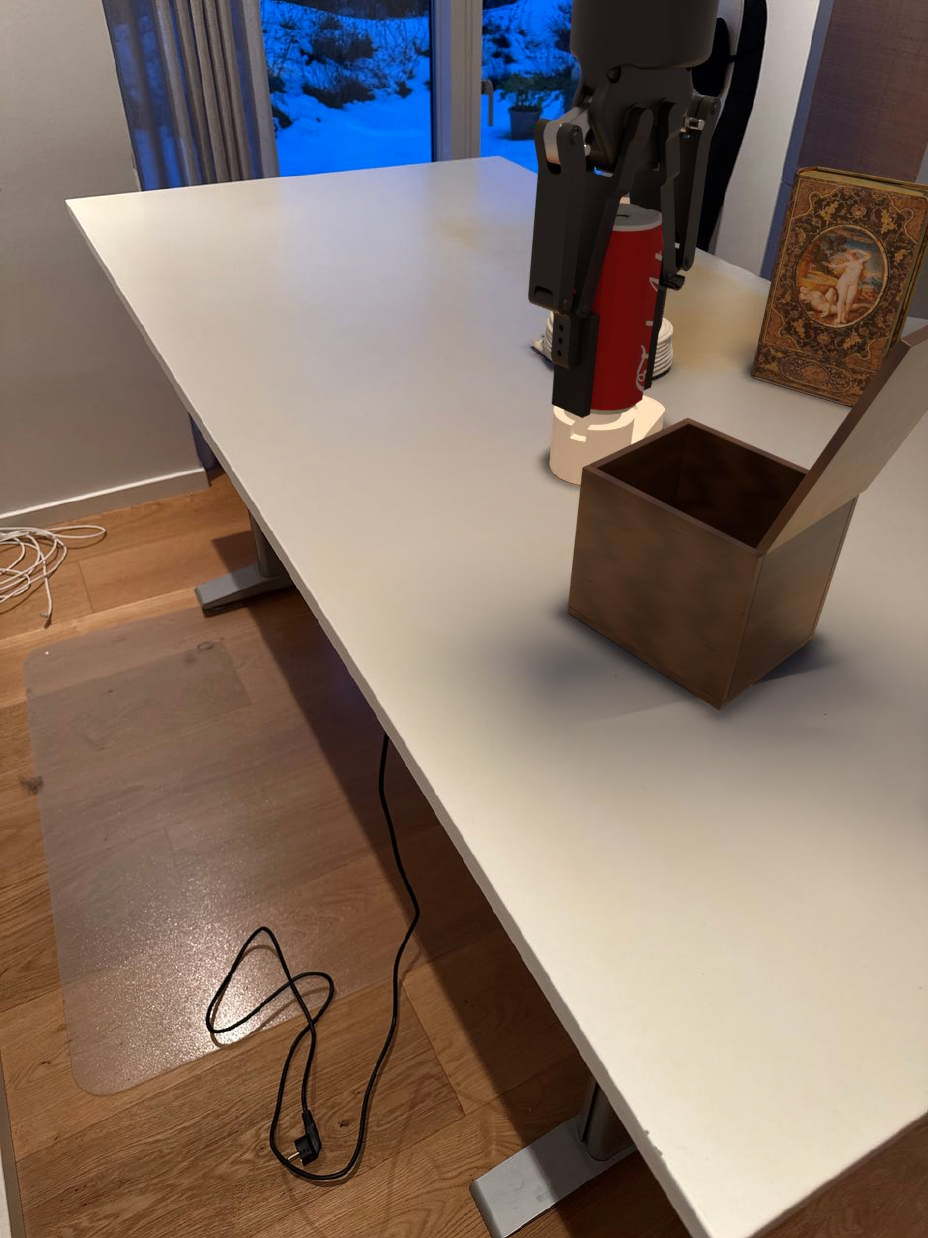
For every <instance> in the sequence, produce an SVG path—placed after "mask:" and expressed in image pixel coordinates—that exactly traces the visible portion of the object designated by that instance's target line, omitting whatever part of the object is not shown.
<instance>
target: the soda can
mask: <svg viewBox="0 0 928 1238" xmlns="http://www.w3.org/2000/svg"><path fill="white" fill-rule="evenodd" d="M661 224H662V214H661V213H660V212H659V211H656V210H652V209H648V210H647V209H644V208H641V207H639V206H637V205H633V204H625V203H620V204H619V208H618V211H617V215H616V219H615V223H614V226H613V230H612V234H611V237H610V241H609V245H608V248H607V252H606V256H605V260H604V263H603V267H602V271H601V274H600V278H599V282H598V286H597V289H596V293H595V297H594V300H593V304H592V308H591V312H594V313H596V314H599V315H600V323H599V333H598V343H597V352H596V362H595V372H594V382H593V392H592V401H591V411H590V413H591V414H598V415H613V414H620V413H624V412H627V411H628V410H630V409H631V408H633V407H634V406H636V404H637V403H638V402H640V401H641V400H642V398H643V395H644V391H645V390H644V384H645V377H646V370H647V362H648V355H649V348H650V341H651V334H652V326H653V319H654V312H655V305H656V298H657V290H658V283H659V276H660V269H661V262H662V254H663V235H662V225H661ZM573 293H576V290H575V289H574V292H573Z"/></svg>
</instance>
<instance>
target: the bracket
mask: <svg viewBox="0 0 928 1238" xmlns="http://www.w3.org/2000/svg"><path fill="white" fill-rule="evenodd" d="M552 413H553V414H552V425H551V437H550V452H549V469H550V471H551V472H552V473H553V475H554V476H556V477H557V478H559V479H561V480H563V481H565V482H568V483H569V484H574V485H578V486H580V485H581V476H582V468H583V467H584V466H587V465H589V464H591V463H593V462H595V461H597V460H599V459H602V458H604V457H606V456H608V455H610V454H612V453H614V452H616V451H618V450H620V449H623V448H625V447H627V446H629V445H631V444H633V443H635V442H637V441H639V440H642V439H644V438H646V437H648V436H650V435H652V434H654V433H656V432H658V431H661V430H663V425H664V420H665V413H666V408H665V406H664V405H663V404H661V402H659V401H657V400H656V399H654V398H651V397H649V396H646V395H644V394H643V398H642V400H641V401H640V402H638V403H637V404H636V406H634V407H633V408H631V409H630V410H628V411H627V412H624V413H620V414H613V415H598V414H591V413H590V415H588V416H586V417H584V418H581V417H579V416H576V415H574V414H572V413H570V412H568V411H565V410H563V409H561V408H559V407H557V406H554V405H553V411H552Z"/></svg>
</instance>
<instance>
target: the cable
mask: <svg viewBox="0 0 928 1238" xmlns="http://www.w3.org/2000/svg"><path fill="white" fill-rule="evenodd" d="M552 331H553V312H552V311H550V312H549V316H548V317H547V319H546V327H545V332H544V333H541V334H540V337H541V338H543V339H539V340H537V339H535V338H531V339H530V342H531V343H532V345H533V346H534V348H535V349H536V350H537V351H538V352H539V353H540V354H542V355H544V356H545V357H546V358H548V359H549V360H550V361H551V362H552V358H551V347H552ZM673 335H674V326H673V324H672V323H671V322H670V321H669V320H668V319H667V318H665V317H664V316H663V321H662V326H661V329H660V331H659V336H658V343H657V350H656V357H655V364H654V371H653V378H654V377H657V376H659V375H660V374H661V375H662V374H663V373H664V372H666V371H667V370H668V369H669V368H670V367H671V366H672V363H673V361H674V359H673V357H674V350H673ZM552 363H553V364H555V363H554V362H552Z"/></svg>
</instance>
